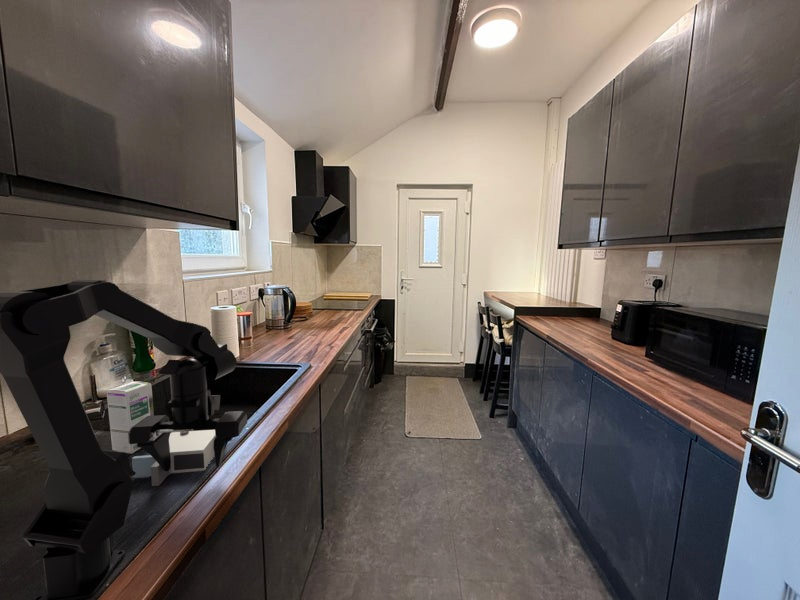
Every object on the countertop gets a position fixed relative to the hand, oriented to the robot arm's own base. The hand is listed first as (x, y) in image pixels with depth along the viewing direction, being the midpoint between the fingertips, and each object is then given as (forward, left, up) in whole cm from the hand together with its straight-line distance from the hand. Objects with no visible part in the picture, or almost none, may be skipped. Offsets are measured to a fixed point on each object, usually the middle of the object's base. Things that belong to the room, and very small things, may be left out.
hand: (193, 468), depth 61 cm
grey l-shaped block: (+1, +9, -2) cm, 9 cm away
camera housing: (+8, +5, -3) cm, 10 cm away
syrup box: (+15, +20, -3) cm, 25 cm away
